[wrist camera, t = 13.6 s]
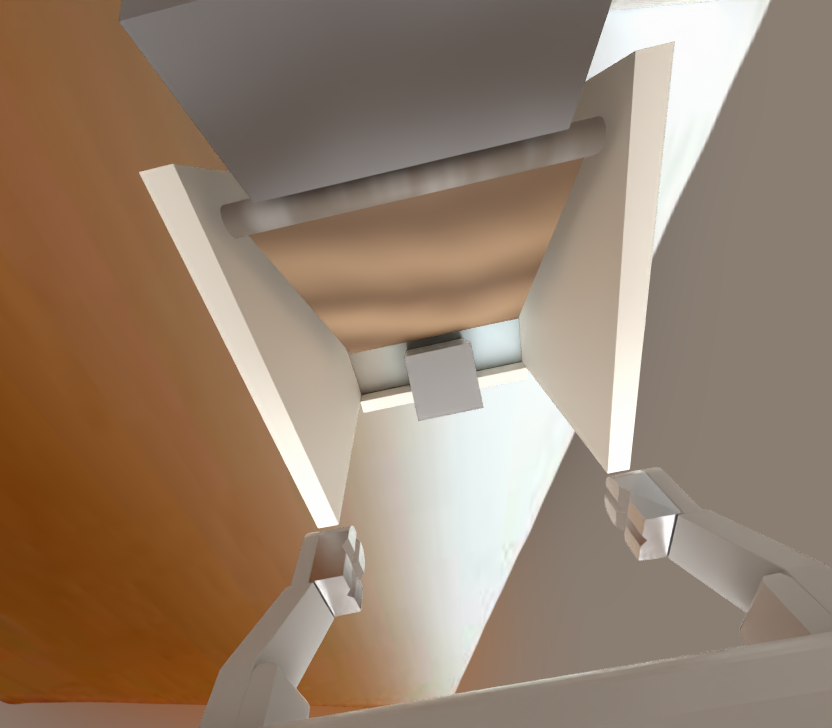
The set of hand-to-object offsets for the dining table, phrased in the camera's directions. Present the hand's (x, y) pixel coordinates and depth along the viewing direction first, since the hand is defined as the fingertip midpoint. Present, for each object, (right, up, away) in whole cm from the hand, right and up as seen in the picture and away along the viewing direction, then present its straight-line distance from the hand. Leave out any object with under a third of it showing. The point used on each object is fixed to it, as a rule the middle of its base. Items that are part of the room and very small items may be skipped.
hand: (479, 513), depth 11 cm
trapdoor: (-3, +17, +8) cm, 18 cm away
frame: (-2, +11, +17) cm, 20 cm away
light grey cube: (0, +3, +14) cm, 15 cm away
